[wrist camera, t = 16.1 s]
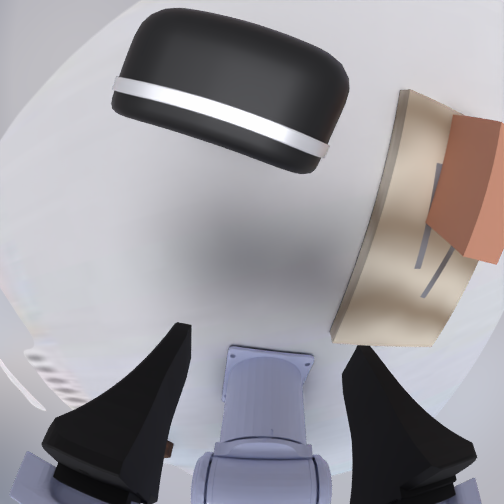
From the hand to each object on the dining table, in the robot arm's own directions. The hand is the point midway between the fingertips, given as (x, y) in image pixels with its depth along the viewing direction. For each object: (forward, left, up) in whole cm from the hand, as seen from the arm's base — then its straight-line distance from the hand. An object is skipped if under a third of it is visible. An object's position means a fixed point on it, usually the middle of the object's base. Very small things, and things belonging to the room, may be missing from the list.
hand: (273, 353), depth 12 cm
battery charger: (+10, +3, -10) cm, 15 cm away
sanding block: (+9, -12, -8) cm, 17 cm away
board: (+3, -12, -10) cm, 16 cm away
